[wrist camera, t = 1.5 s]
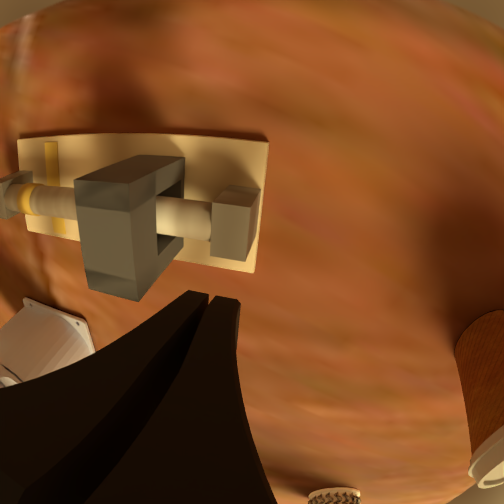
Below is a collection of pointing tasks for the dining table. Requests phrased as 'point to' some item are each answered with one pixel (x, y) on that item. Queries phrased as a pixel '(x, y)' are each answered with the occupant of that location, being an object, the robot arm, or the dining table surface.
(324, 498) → the decorative candle
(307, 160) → the dining table surface
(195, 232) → the pipe stand
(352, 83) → the dining table surface
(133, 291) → the grey notched block
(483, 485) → the disposable coffee cup
